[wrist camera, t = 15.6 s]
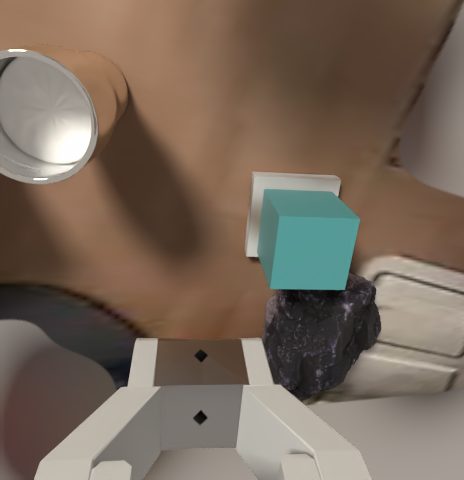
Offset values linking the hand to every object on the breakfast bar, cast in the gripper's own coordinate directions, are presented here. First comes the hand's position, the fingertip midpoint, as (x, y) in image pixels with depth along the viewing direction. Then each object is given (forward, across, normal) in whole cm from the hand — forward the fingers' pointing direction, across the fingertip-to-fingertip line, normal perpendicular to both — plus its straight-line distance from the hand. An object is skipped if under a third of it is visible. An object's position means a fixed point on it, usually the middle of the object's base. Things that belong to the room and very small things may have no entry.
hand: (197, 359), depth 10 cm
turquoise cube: (+27, -10, +7) cm, 29 cm away
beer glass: (+29, +8, -3) cm, 31 cm away
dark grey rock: (+30, -15, +19) cm, 38 cm away
